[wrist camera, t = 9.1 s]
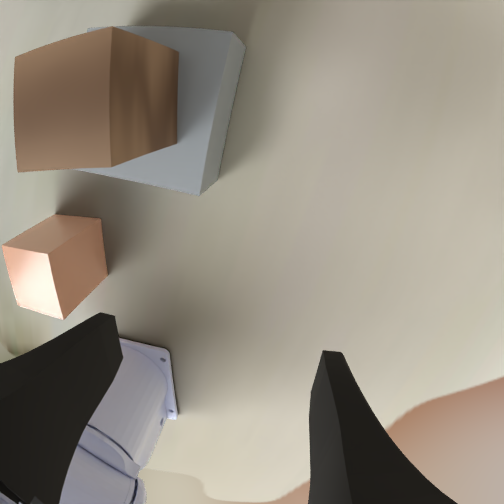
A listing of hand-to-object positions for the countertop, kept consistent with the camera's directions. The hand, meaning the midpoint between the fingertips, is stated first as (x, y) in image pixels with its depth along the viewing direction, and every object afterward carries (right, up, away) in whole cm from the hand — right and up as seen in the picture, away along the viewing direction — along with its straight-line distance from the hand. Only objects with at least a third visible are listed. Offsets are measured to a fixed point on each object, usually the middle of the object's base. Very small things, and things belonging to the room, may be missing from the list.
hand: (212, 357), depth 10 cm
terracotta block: (-12, +4, +12) cm, 17 cm away
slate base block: (-4, +12, +7) cm, 15 cm away
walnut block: (-4, +11, +3) cm, 12 cm away
